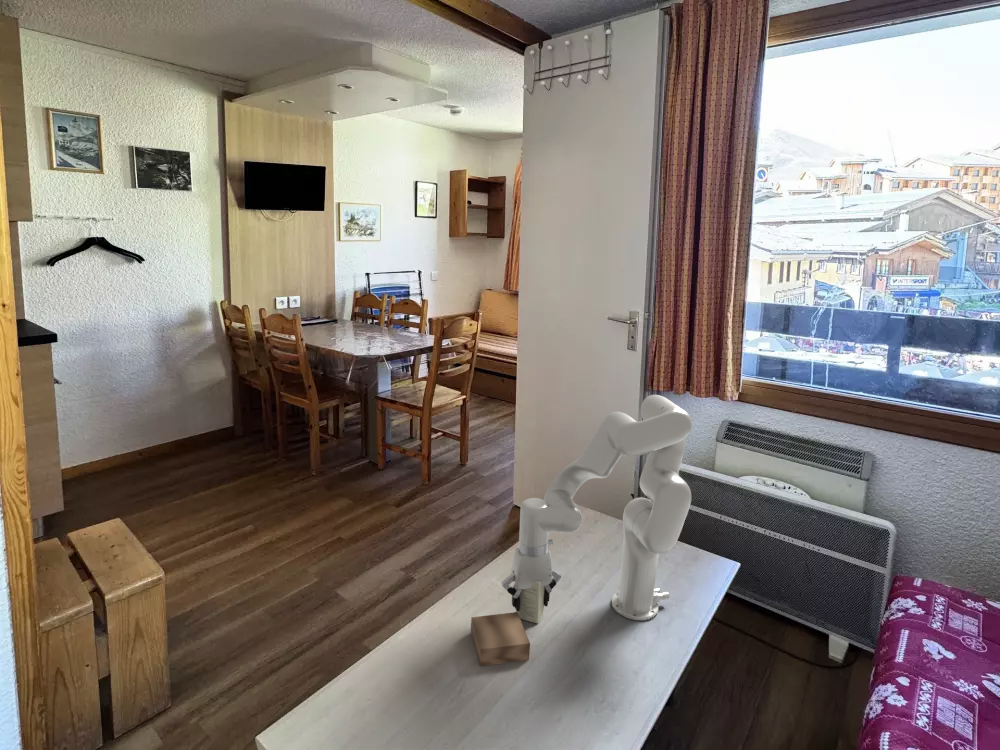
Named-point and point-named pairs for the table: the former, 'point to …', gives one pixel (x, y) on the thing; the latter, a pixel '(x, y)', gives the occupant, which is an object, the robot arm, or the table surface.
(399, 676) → the table surface
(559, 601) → the table surface
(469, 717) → the table surface
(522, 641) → the walnut block
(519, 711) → the table surface
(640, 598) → the robot arm
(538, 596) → the skincare box
